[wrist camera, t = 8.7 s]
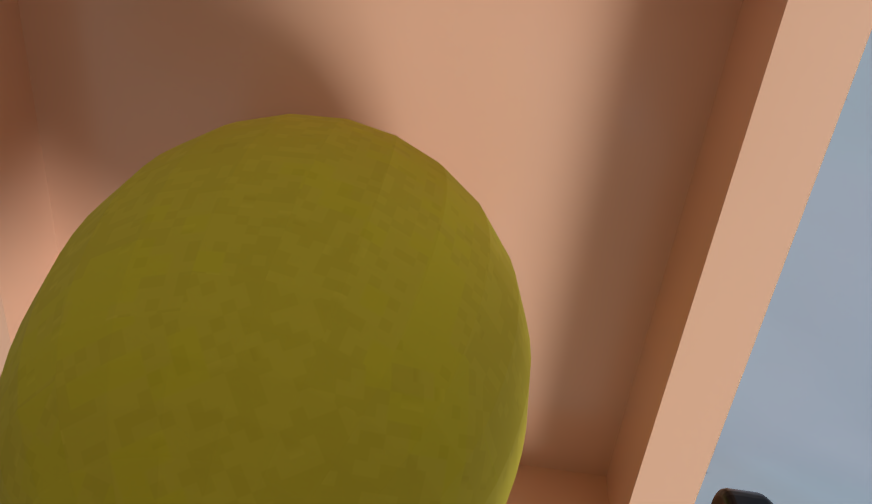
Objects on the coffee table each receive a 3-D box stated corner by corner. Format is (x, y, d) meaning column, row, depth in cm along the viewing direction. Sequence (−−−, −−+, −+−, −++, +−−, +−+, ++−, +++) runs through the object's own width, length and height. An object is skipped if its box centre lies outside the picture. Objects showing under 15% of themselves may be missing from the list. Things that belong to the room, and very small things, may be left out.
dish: (59, 407, 17) (-9, 499, 15) (-68, -289, 11) (-217, -303, 9) (641, 489, 16) (659, 597, 14) (858, -181, 10) (945, -168, 8)
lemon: (484, 379, 14) (451, 935, 8) (174, 314, 14) (-149, 815, 7) (571, 82, 12) (644, 531, 5) (186, -3, 11) (-318, 330, 5)
